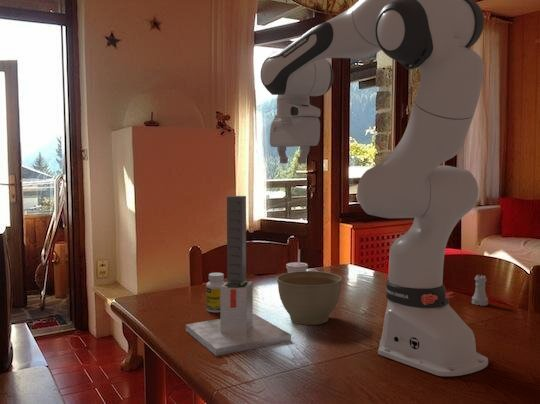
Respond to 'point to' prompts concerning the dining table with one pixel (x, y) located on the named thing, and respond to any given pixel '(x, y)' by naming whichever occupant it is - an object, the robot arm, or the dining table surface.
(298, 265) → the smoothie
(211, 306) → the supplement bottle
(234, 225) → the post
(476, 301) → the rook chess piece
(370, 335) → the dining table surface
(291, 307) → the planter bowl
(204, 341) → the stand
